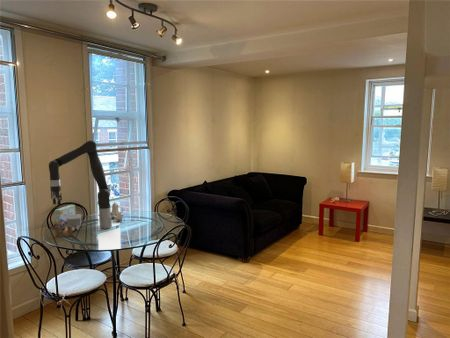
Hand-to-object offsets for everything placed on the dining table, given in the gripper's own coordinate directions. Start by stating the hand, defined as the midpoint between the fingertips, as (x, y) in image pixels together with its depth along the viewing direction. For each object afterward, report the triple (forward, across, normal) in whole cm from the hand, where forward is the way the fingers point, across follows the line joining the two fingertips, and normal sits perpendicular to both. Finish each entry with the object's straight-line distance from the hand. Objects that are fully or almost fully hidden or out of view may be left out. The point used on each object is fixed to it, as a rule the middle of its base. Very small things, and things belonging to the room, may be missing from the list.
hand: (56, 205), depth 268 cm
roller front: (+21, -9, -5) cm, 24 cm away
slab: (+18, -3, -12) cm, 21 cm away
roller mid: (+21, -6, -10) cm, 24 cm away
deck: (+22, -9, -5) cm, 25 cm away
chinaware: (+23, 0, -50) cm, 55 cm away
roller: (+22, -14, 0) cm, 26 cm away
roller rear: (+22, 0, -13) cm, 25 cm away
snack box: (+23, +20, -15) cm, 34 cm away
